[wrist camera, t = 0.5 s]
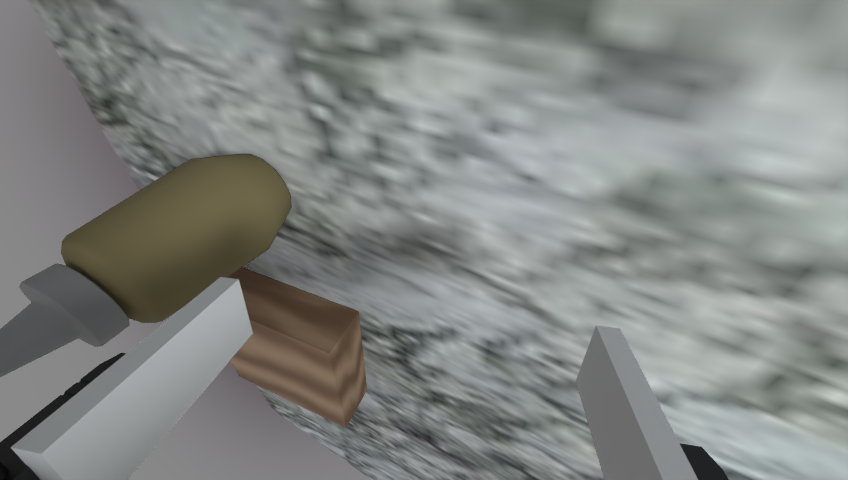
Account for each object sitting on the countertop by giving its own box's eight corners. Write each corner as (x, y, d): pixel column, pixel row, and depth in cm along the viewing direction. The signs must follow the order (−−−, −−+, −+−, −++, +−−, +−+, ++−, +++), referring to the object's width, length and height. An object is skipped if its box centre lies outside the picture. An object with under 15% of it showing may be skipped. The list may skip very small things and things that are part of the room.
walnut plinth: (231, 263, 37) (192, 295, 34) (358, 311, 33) (329, 353, 30) (266, 345, 48) (239, 376, 44) (366, 389, 44) (345, 427, 40)
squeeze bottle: (298, 243, 30) (72, 449, 17) (222, 195, 30) (-58, 365, 17) (311, 175, 25) (-7, 404, 12) (219, 117, 25) (-199, 280, 12)
